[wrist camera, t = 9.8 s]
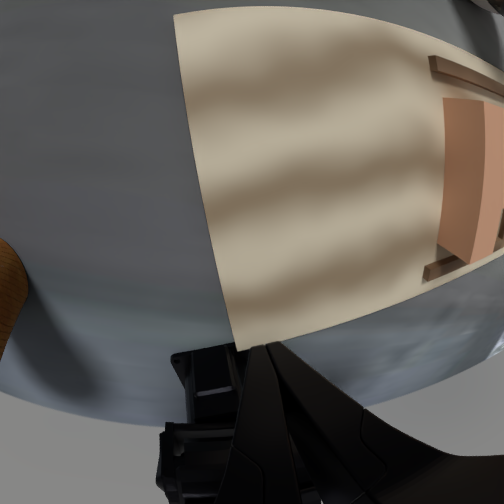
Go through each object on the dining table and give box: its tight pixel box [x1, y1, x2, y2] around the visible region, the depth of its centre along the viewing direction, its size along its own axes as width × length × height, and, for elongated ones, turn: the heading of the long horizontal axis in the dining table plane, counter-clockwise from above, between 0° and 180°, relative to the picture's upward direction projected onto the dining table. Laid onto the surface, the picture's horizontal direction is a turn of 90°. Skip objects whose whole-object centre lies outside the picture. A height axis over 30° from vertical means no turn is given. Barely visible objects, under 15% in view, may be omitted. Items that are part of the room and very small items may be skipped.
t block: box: [437, 97, 504, 265], centre depth 16 cm, size 12×12×4 cm
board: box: [173, 6, 504, 351], centre depth 17 cm, size 22×34×2 cm, turn 98°
